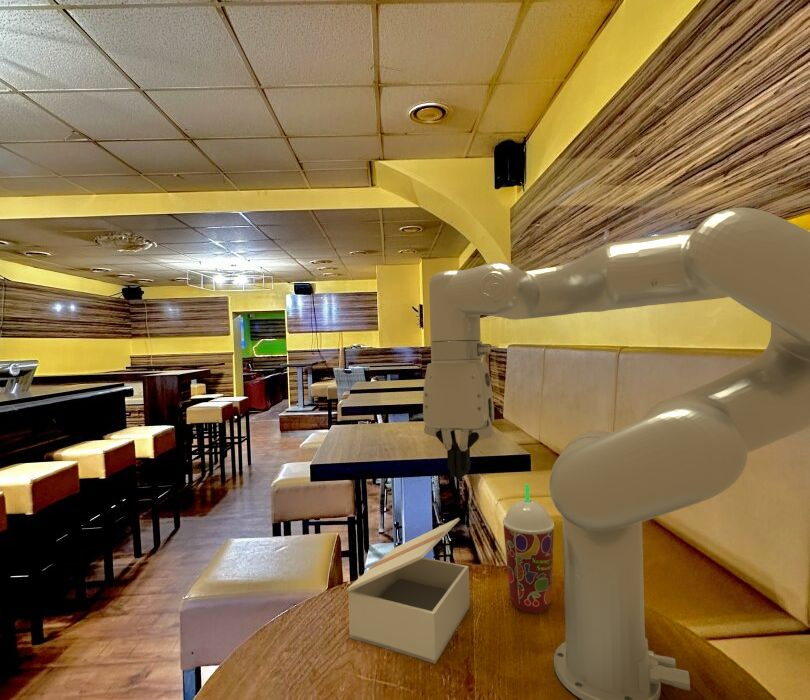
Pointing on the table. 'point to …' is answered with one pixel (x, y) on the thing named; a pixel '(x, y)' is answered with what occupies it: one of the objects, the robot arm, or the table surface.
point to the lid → (404, 554)
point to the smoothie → (529, 554)
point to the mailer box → (411, 608)
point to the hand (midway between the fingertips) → (459, 474)
